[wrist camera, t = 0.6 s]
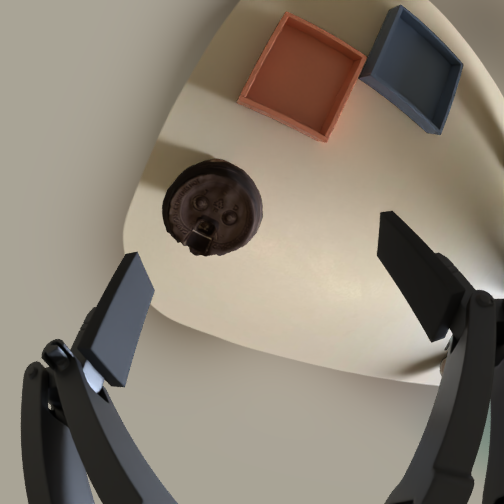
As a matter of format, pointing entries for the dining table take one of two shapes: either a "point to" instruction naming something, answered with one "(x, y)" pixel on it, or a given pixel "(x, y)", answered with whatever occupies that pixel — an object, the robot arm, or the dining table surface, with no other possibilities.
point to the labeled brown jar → (212, 208)
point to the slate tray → (413, 70)
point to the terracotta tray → (303, 77)
